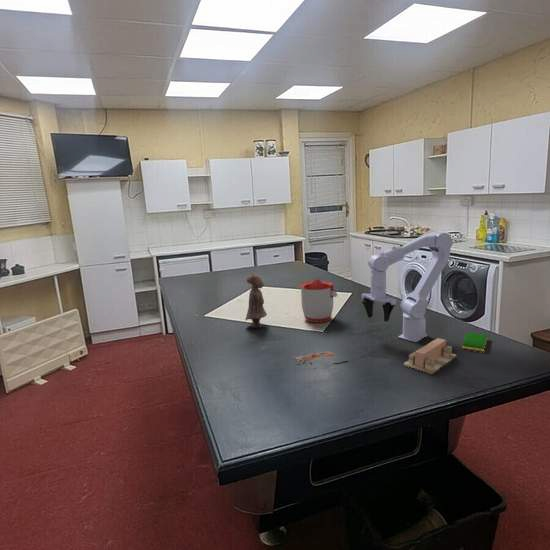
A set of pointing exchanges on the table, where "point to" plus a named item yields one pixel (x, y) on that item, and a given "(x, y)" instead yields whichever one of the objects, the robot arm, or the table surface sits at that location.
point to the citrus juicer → (317, 300)
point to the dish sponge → (475, 341)
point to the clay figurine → (255, 301)
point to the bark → (314, 356)
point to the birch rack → (432, 361)
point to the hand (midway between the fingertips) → (378, 318)
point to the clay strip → (429, 352)
